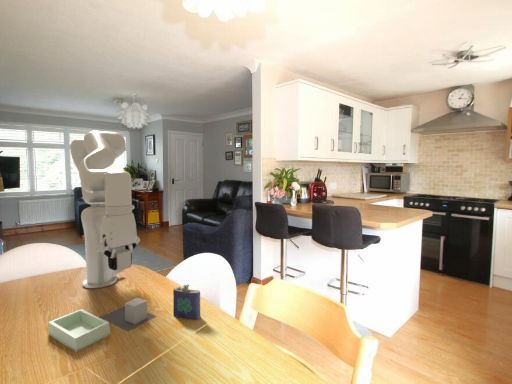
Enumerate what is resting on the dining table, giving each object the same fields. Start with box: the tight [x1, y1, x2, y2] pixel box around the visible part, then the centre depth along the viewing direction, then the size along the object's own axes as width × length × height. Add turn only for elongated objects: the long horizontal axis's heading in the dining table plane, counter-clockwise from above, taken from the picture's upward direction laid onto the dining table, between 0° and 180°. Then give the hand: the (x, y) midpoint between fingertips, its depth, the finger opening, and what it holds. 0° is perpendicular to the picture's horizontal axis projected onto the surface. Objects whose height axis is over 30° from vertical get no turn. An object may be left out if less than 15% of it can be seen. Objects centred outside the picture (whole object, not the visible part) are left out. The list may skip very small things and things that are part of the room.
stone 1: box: [115, 247, 132, 271], centre depth 93 cm, size 4×4×6 cm
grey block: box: [124, 297, 148, 324], centre depth 90 cm, size 4×4×6 cm
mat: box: [99, 305, 158, 332], centre depth 92 cm, size 10×15×1 cm, turn 58°
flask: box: [172, 283, 202, 321], centre depth 92 cm, size 9×3×11 cm, turn 74°
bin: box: [47, 308, 111, 353], centre depth 82 cm, size 9×15×4 cm, turn 58°
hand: (120, 266), depth 93 cm, fingers closed on stone 1, 4 cm apart
